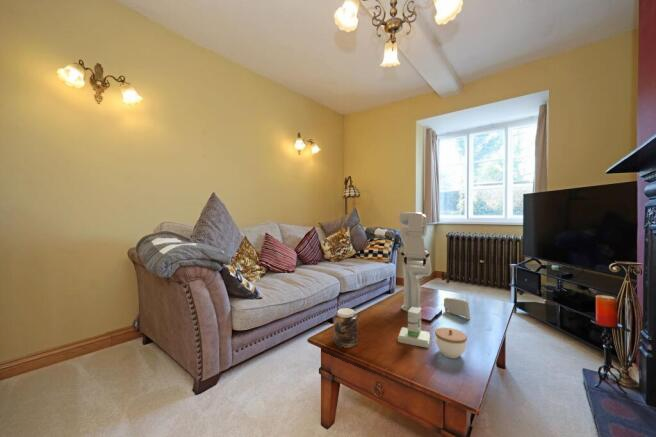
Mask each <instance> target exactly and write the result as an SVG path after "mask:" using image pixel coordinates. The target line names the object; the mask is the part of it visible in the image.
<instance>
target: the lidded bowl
mask: <svg viewBox="0 0 656 437" xmlns="http://www.w3.org/2000/svg"><path fill="white" fill-rule="evenodd" d="M434 332H435V334H434V335H435V344H436V347H437V348H438V350H439V351H440V353H441V354H442V355H443V356H444V357H445V358H446V357H447V358H449V359H458V358H460V356H462V355H463V354H464V352H465V350H466V348H467V339H468V338H467V335H466V333H464V332H462V330H458V329H456V328H452V327H440V328H439V327H438V328H436V330H435V331H434Z"/></svg>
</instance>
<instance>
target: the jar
mask: <svg viewBox="0 0 656 437" xmlns="http://www.w3.org/2000/svg"><path fill="white" fill-rule="evenodd" d="M336 312H337V313H335V314H334V316H333V344H334V343H335V344H336V345H337V346H336V345H335V344H334V345H335V346H336V347H338V346H340V347H339V348H341V347H344V348H343V349H350V348H353V347H355V346H357V345H358V343H359V319H358V318H359V317H358V315H357V313H355V310H354V309H352V308H347V307H346V308H344V307H343V308H339V309H338V310H337V311H336Z"/></svg>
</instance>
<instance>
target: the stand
mask: <svg viewBox="0 0 656 437" xmlns="http://www.w3.org/2000/svg"><path fill="white" fill-rule="evenodd" d="M430 342H431V333H430V331H426V330H421V333H420V334H419V336H418V338H416V337H412V336H408V327H404V326H403V327H401V328H400V332H399V334H398V337H397V343H401V344H407V345H412V346H417V347H423V348H427V349H429V348H430Z"/></svg>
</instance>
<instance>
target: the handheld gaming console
mask: <svg viewBox="0 0 656 437" xmlns="http://www.w3.org/2000/svg"><path fill="white" fill-rule="evenodd" d="M443 307H444V312H445V313H448V314H452V315H455V316H460V317H463V318H464V317H465V318H466V320H467V321H469V320H471V313H470V307H469V302H468V300H467V299H464V298H463V299H462V298H457V297H445V298H444V299H443Z"/></svg>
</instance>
